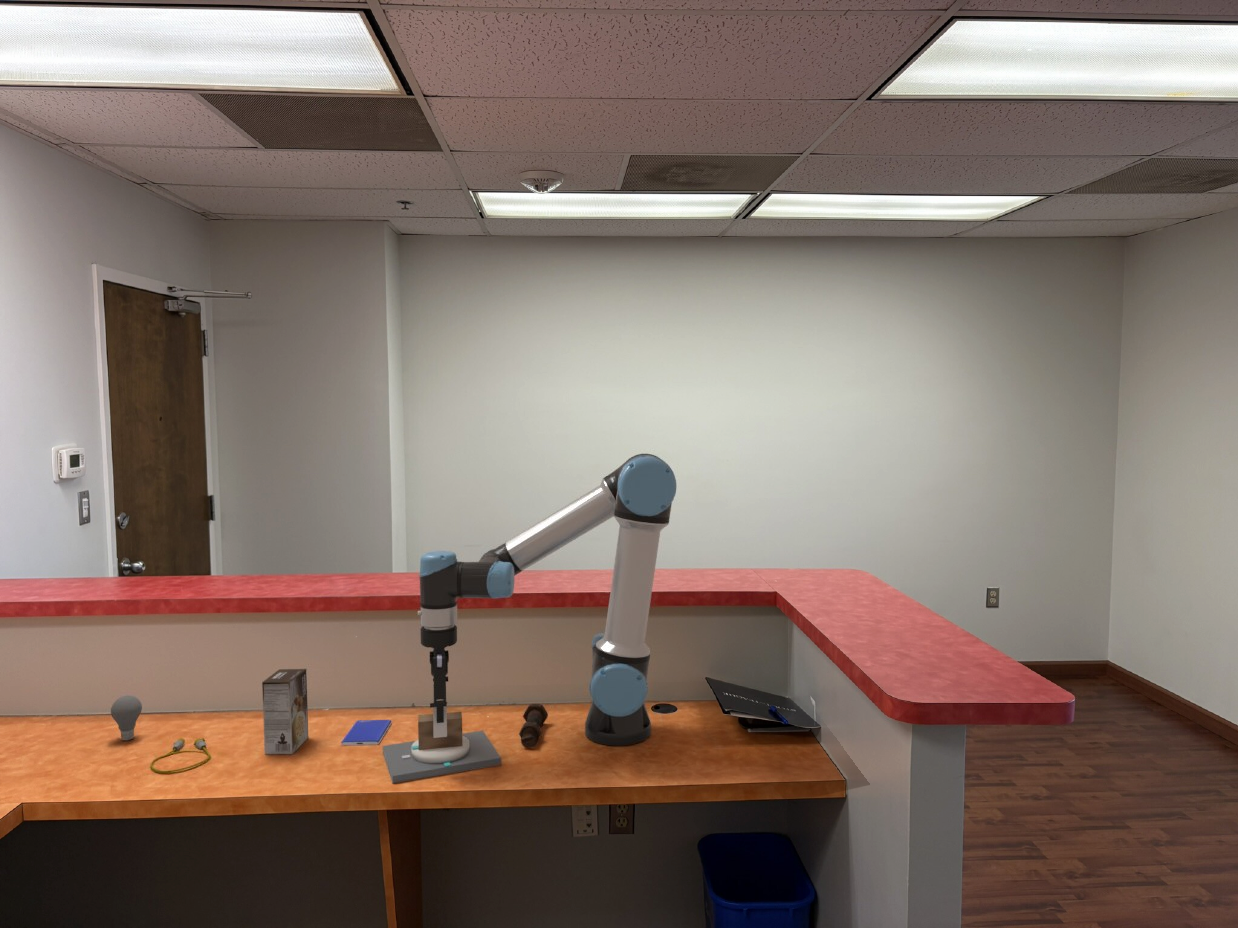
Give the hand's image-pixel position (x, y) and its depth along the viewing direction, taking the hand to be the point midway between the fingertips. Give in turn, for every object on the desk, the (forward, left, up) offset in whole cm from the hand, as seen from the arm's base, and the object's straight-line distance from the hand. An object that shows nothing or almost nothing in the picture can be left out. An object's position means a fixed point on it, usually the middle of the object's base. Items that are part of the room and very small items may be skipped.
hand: (439, 724), depth 173 cm
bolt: (-21, -4, -8) cm, 23 cm away
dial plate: (0, 0, -7) cm, 7 cm away
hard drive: (+13, -20, -8) cm, 25 cm away
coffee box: (+30, -20, -8) cm, 37 cm away
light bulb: (+63, -38, -8) cm, 74 cm away
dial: (0, 0, -6) cm, 6 cm away
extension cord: (+50, -22, -8) cm, 55 cm away
